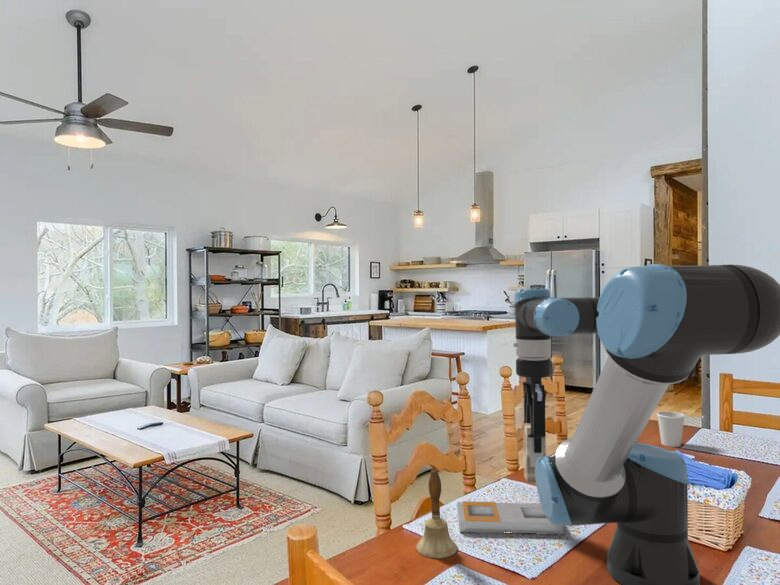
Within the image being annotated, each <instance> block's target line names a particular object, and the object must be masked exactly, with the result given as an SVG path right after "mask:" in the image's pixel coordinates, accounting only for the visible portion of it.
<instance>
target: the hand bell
mask: <svg viewBox="0 0 780 585" xmlns="http://www.w3.org/2000/svg"><path fill="white" fill-rule="evenodd" d="M441 481H442V480H441V478H440V474H439V471H438V469H435V468H434V469H431V471H430V475H429V479H428V494H429V495H430V496H429V497H430V500H431V518H428V519H426V521H425V524H424V525H425V526H424V531H423V536H422V537H421V539H419V541H418V542H417V544H416V547H415V548H416V551H417V553H419V554H420V555H421V556H424V557H425V558H429V559H447V558H450V557H451V556H454V555H455V554H456V553H457V552H458V545H457V544H456V542H455V541H454V540H453V539H452V538H451V535H450V533H449V532H450V531H449V527H448V522H447V520H446V519H444V518H441V510H440V509H441V508H440V498H441V494H442V493H441V492H442V482H441Z"/></svg>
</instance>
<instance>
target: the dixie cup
mask: <svg viewBox="0 0 780 585" xmlns="http://www.w3.org/2000/svg"><path fill="white" fill-rule="evenodd" d="M656 416H657V422H658V429H659V435H660V443H661V445H663V446H666V447H672V448H678V447H681V444H682V438H683V430H684V425H685V424H684V423H685V418H686V415H685V414H684V413H681V412H677V411H669V410H664V411H663V410H662V411H657V412H656Z"/></svg>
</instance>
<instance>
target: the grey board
mask: <svg viewBox="0 0 780 585" xmlns="http://www.w3.org/2000/svg"><path fill="white" fill-rule="evenodd" d="M456 507H457V508H456V510H457V511H456V512H457V513H456V514H457V523H458V531H459V533H460V532H473V533H472V534H502V533H504V532H505V533H506V532H510V533H511V532H512V533H540V534H539V535H547V534H564V535H565V531H564V530H565V528H564V527H565V526H558V525H554V524H552V523H551V522H550V521H549V520H548V518H547V517H546V515H545V513H544V511H543V509H542V506H541V503H530V502H529V503H527V502H523V503H521V502H520V503H519V502H496V501H470V500H469V501H467V500H466V501H463V500H462V501H458V502H456ZM474 532H476V533H474ZM499 532H500V533H499ZM541 533H542V534H541Z"/></svg>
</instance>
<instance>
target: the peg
mask: <svg viewBox="0 0 780 585" xmlns="http://www.w3.org/2000/svg"><path fill="white" fill-rule="evenodd" d="M528 435H531V423H524V422H523V467H524V468H523V472H524V473H523V474H524V475H523V477H524V478H525V480H526V482H527V483H530V484H531V483H535V484H536V478H535V467H531V466H530V438H528ZM546 445H547V444H546V436H545V437H543V457H545V456H547V455H546V454H547V449H546Z"/></svg>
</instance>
